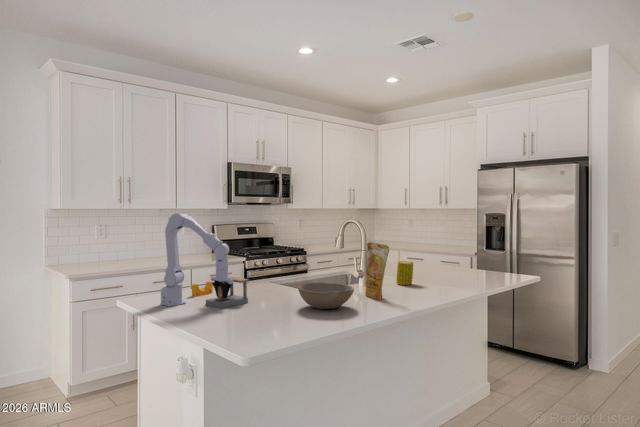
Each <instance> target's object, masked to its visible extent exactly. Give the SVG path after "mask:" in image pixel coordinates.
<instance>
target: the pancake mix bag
mask: <svg viewBox="0 0 640 427" xmlns="http://www.w3.org/2000/svg"><path fill="white" fill-rule="evenodd" d="M389 253H390V247H389V246H388V245H387V244H381V243H377V242H370V241H369V242H367V243H366V268H365V269H366V277H365V281H366V282H365V296H366V297H368V298H370V297H371V298H370V299H373V300H375V299H376V301H382V300H383V284H384V277H385V271H386V266H387V260H388V255H389Z"/></svg>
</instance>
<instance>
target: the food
mask: <svg viewBox="0 0 640 427" xmlns="http://www.w3.org/2000/svg"><path fill="white" fill-rule="evenodd" d="M413 273H414V261H408V260H401V261H399V260H398V262H397V269H396V281H395V282H396V284H397V285H399V284H400V285H399V286H408V285H410V284H411V285H412V284H413V283H412V282H413V277H414V276H413V275H414V274H413Z"/></svg>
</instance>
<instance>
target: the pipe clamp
mask: <svg viewBox="0 0 640 427" xmlns="http://www.w3.org/2000/svg"><path fill="white" fill-rule="evenodd" d="M212 283H213V281H211V280H208V281H206V282H205V286H203V287H201V288H199V284H198V283H193V284H191V297H193V296H195V298H196V296H197V297H201V296H205V295H210V294H213V285H212Z"/></svg>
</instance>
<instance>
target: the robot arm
mask: <svg viewBox="0 0 640 427" xmlns="http://www.w3.org/2000/svg"><path fill="white" fill-rule="evenodd" d="M182 228H189V229H191V230H192V231H194V232H195V233H196V234H197V235H198V236H200V237H201V239H202V242H203V243H204V244H205V245H206V246H208V247H209V249H210V250H212V251H213V253H214V255H215V276H211V277H210V281H212V287H213V289H214V291H215V294H216V298H217V297H218V287H219V286H221V288H222V296H223V298H227V296H228V295H229V291H230V287H231V285H232V284H233V285H234V282H233V279H230V277H231V276H229V253H230V246H229V245H228V243H225V242H223V240H220V239H219V238H218V237H217V236H216V234H215V233H212V232H208V231H206V230H205V229H204V228H203V227H202V226H201V225H200V224H199V223H198V222H197V221H196V220H195V219H194V218H193V217H192V216H190V215H189V214H188V213H186V212H183V213H178V212H177V213H176V212H175V213H172V215H170V217H169V218H168V222H167V223H166V226H165V228H164V232H165V233H164V235H165V244H166V245H165V249H166V257H167V260H166V261H167V267H166V268H165V272H164V273H165V275H164V278H163V282H164V283H165V286H163V287H162V288H161V289H160V303H159V305H161V306H165V307H174V306H179V305H183V304H186V303H187V302H186V301H183V283H182V282H183V281H185V274H184V273H183V268H182V266H181V265H180V257H179V254H180V253H179V242H178V233H179V232H180V230H181V229H182Z"/></svg>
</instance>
